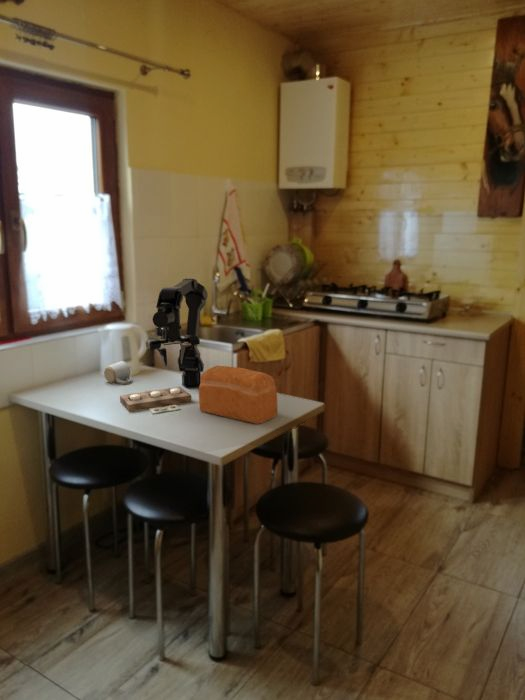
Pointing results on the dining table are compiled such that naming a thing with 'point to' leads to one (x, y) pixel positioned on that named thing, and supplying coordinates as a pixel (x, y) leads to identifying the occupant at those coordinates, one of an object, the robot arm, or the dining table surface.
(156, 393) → the off-white egg
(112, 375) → the ceramic mug
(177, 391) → the white egg
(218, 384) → the bread
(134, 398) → the cream egg
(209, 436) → the dining table surface
